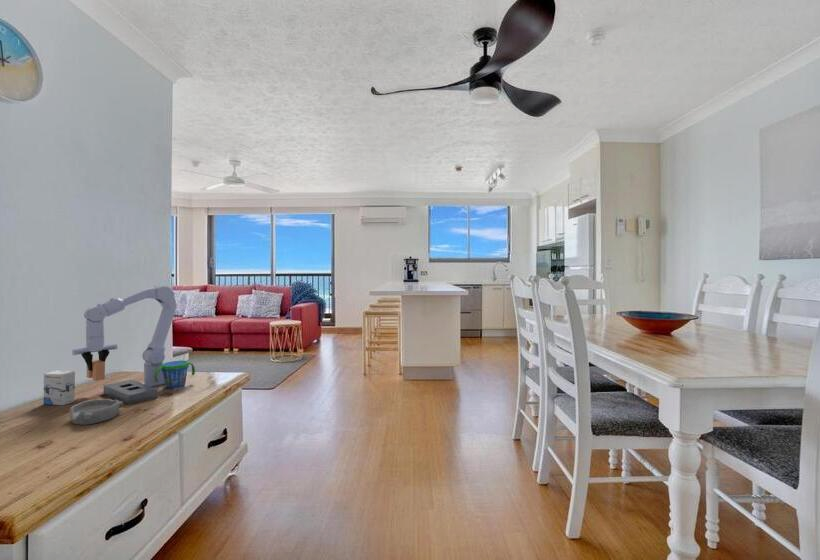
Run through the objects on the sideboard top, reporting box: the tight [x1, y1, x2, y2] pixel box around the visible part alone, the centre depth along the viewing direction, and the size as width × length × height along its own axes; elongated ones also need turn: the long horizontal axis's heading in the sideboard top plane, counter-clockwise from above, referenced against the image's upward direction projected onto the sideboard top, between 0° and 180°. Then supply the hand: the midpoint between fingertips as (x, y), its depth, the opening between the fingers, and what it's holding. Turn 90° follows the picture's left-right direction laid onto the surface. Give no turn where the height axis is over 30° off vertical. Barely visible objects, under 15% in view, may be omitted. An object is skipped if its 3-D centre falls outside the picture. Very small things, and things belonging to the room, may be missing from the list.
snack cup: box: [154, 360, 196, 389], centre depth 173 cm, size 16×10×10 cm
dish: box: [69, 398, 124, 426], centre depth 136 cm, size 14×14×5 cm
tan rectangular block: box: [85, 358, 106, 382], centre depth 160 cm, size 3×10×7 cm, turn 56°
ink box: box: [43, 370, 76, 406], centre depth 151 cm, size 9×5×12 cm, turn 84°
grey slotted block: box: [103, 379, 158, 405], centre depth 160 cm, size 10×24×4 cm, turn 56°
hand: (95, 369), depth 160 cm, fingers closed on tan rectangular block, 3 cm apart
